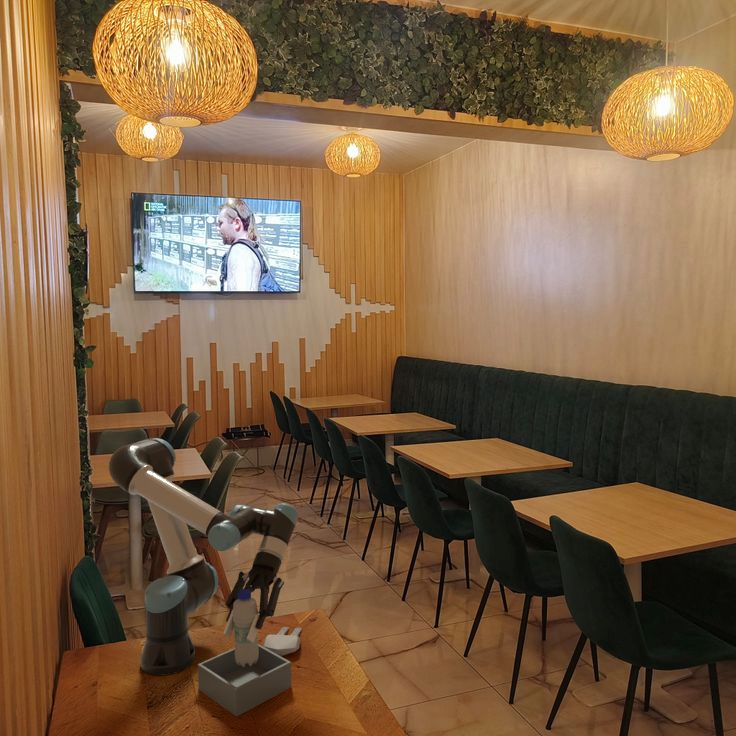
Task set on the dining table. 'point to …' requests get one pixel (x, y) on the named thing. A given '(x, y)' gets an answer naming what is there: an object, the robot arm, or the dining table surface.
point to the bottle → (244, 628)
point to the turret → (283, 641)
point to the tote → (244, 680)
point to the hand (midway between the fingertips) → (238, 638)
